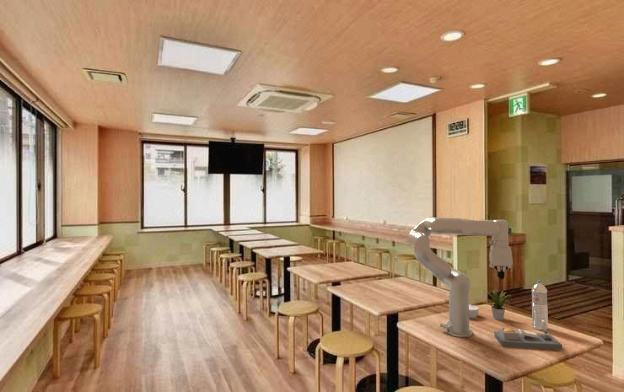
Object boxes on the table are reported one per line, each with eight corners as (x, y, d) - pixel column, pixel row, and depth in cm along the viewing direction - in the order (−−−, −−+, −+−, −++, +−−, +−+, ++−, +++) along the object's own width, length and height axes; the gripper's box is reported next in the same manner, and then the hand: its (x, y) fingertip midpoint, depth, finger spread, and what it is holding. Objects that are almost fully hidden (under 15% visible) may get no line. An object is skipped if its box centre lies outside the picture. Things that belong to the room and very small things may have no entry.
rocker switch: (520, 334, 166) (521, 331, 166) (517, 331, 170) (518, 328, 169) (537, 337, 164) (537, 335, 164) (533, 334, 168) (534, 331, 168)
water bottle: (550, 331, 180) (549, 282, 179) (535, 330, 181) (534, 282, 181) (544, 326, 186) (543, 279, 186) (530, 325, 188) (529, 279, 188)
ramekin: (483, 317, 202) (483, 308, 202) (468, 320, 198) (468, 311, 198) (468, 311, 212) (468, 302, 212) (453, 314, 208) (453, 305, 208)
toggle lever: (544, 337, 164) (542, 321, 165) (543, 335, 166) (540, 319, 166) (549, 336, 164) (546, 320, 164) (547, 335, 166) (544, 319, 166)
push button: (505, 337, 167) (505, 331, 167) (502, 334, 171) (502, 327, 171) (515, 338, 166) (515, 332, 166) (512, 334, 170) (512, 328, 170)
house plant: (507, 325, 188) (506, 295, 188) (480, 319, 198) (479, 290, 198) (516, 318, 198) (515, 290, 198) (490, 313, 208) (489, 285, 208)
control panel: (501, 346, 164) (501, 334, 164) (494, 336, 175) (494, 325, 175) (562, 350, 158) (561, 338, 158) (550, 339, 170) (549, 327, 170)
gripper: (486, 244, 180) (487, 280, 180) (518, 244, 176) (519, 280, 177) (482, 242, 187) (483, 276, 187) (513, 242, 184) (514, 277, 184)
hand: (500, 278), depth 182 cm, fingers closed
